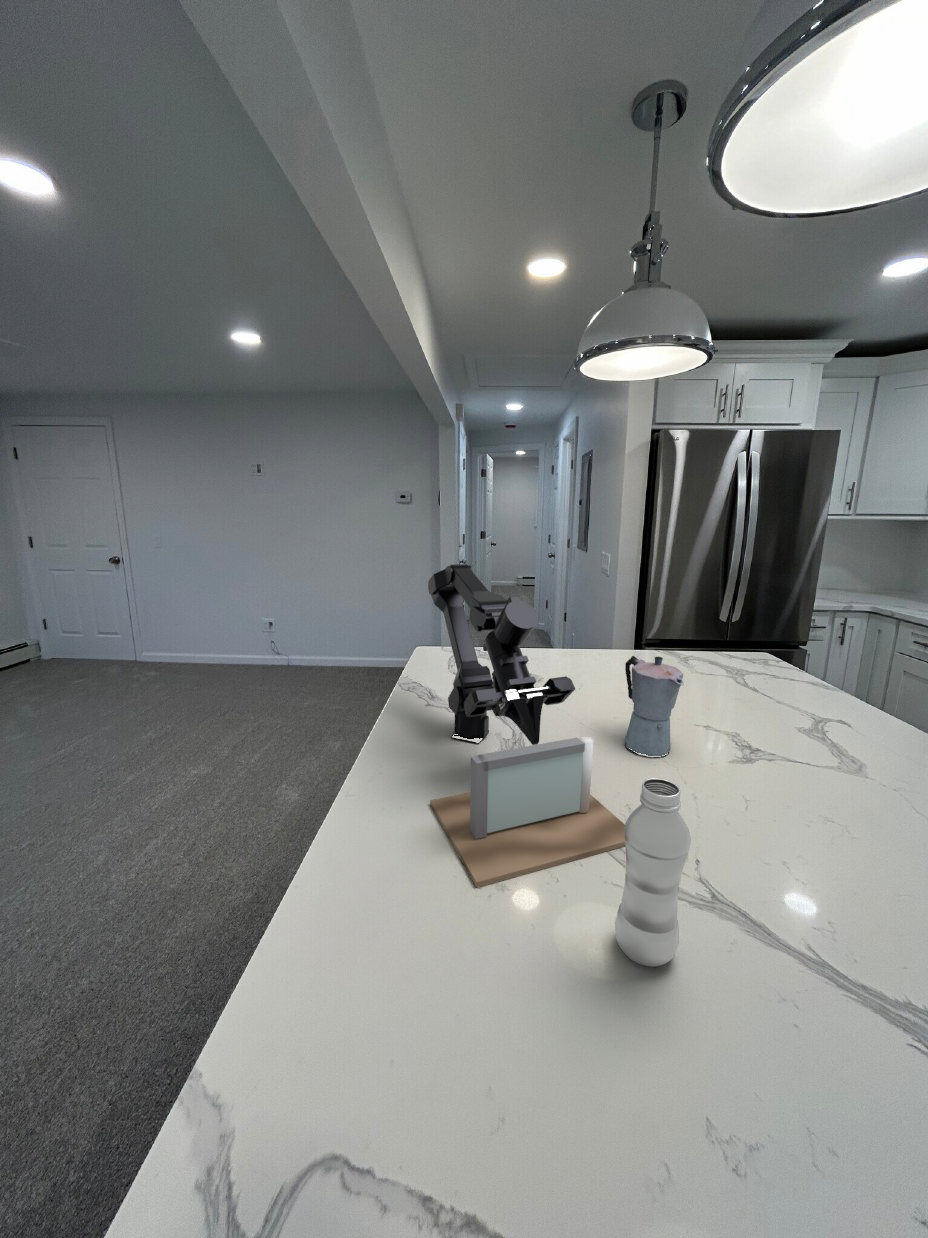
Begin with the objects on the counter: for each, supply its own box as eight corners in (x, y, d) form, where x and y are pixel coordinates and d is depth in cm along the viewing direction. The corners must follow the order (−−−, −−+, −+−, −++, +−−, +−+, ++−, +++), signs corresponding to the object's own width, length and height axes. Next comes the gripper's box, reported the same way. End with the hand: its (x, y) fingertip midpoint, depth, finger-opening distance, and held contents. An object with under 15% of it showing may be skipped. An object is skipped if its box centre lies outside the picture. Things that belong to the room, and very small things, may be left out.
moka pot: (658, 769, 95) (667, 668, 91) (601, 737, 108) (607, 648, 104) (692, 759, 99) (703, 662, 95) (633, 729, 113) (641, 643, 108)
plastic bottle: (604, 928, 59) (616, 772, 54) (660, 925, 59) (676, 770, 55) (626, 979, 52) (642, 806, 48) (688, 974, 53) (710, 803, 49)
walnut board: (430, 804, 83) (430, 800, 83) (565, 776, 92) (565, 772, 92) (476, 888, 65) (476, 882, 65) (639, 842, 74) (639, 837, 74)
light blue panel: (583, 803, 82) (588, 735, 79) (591, 811, 80) (596, 741, 77) (469, 830, 75) (470, 756, 72) (475, 839, 73) (476, 763, 70)
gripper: (536, 675, 98) (565, 752, 90) (446, 686, 92) (468, 770, 84) (560, 646, 90) (593, 728, 82) (462, 656, 83) (488, 746, 75)
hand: (535, 743), depth 81 cm, fingers closed
